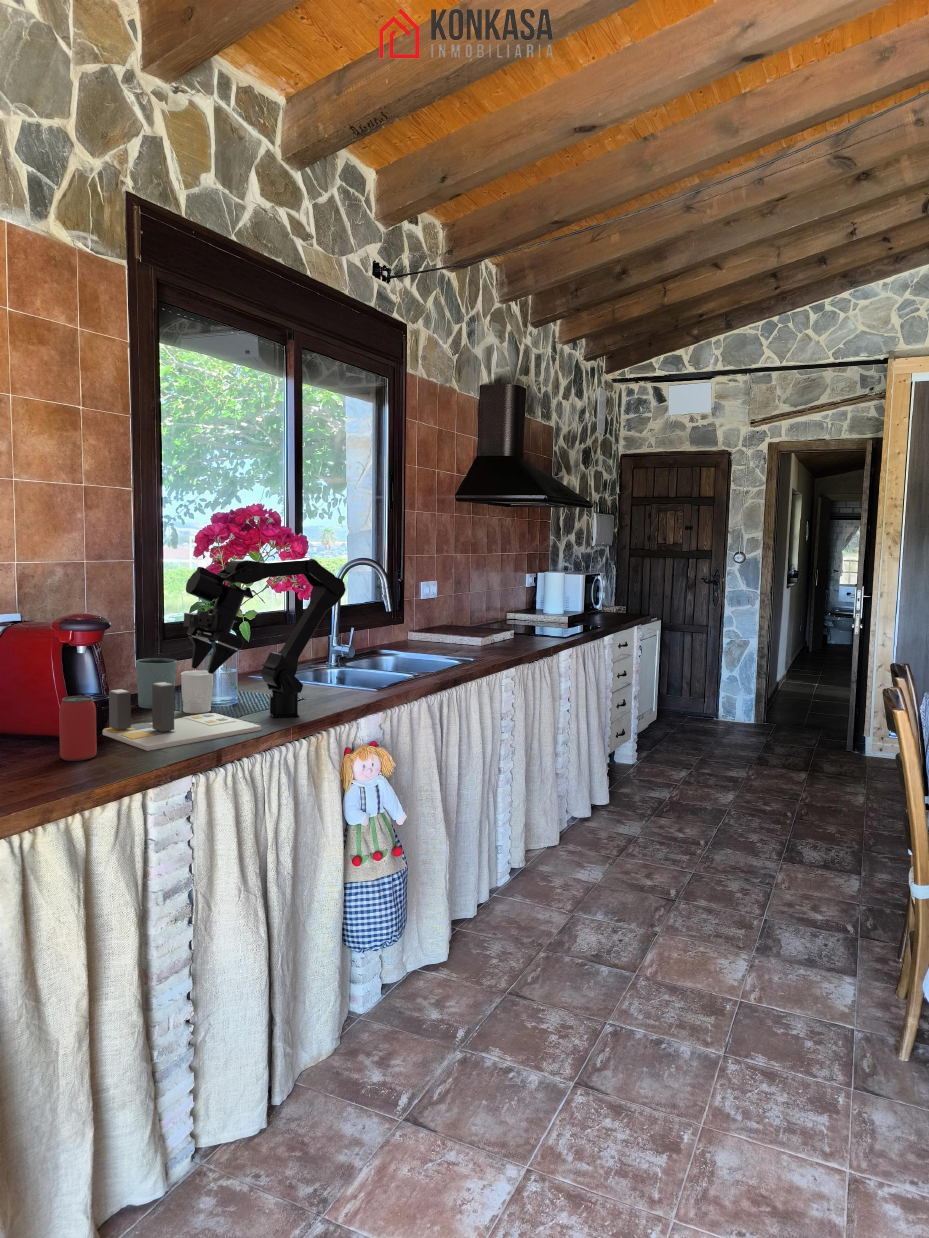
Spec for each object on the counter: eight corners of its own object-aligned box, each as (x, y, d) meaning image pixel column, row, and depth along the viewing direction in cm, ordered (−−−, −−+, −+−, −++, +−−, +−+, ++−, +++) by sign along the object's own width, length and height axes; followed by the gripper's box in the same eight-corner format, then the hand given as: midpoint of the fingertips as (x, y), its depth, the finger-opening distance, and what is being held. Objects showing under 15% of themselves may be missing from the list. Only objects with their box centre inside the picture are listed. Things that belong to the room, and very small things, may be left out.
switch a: (165, 726, 184) (164, 681, 183) (174, 729, 181) (173, 684, 180) (152, 728, 181) (152, 683, 180) (161, 731, 179) (161, 685, 178)
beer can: (82, 762, 158) (81, 702, 157) (52, 760, 159) (51, 700, 158) (103, 754, 164) (102, 696, 163) (74, 752, 165) (73, 694, 164)
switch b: (122, 724, 184) (121, 688, 184) (130, 727, 182) (130, 691, 181) (109, 726, 182) (108, 690, 181) (117, 729, 179) (117, 692, 179)
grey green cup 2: (134, 703, 217) (134, 658, 216) (174, 700, 222) (174, 657, 221) (138, 710, 208) (137, 663, 207) (179, 707, 213) (179, 662, 212)
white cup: (203, 715, 204) (203, 675, 203) (174, 713, 206) (174, 674, 205) (218, 709, 212) (218, 671, 211) (191, 707, 213) (191, 669, 212)
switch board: (212, 716, 202) (212, 711, 202) (261, 730, 189) (261, 724, 189) (101, 734, 181) (101, 728, 181) (147, 750, 168) (147, 744, 168)
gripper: (179, 594, 195) (155, 655, 192) (213, 599, 181) (186, 664, 178) (220, 610, 202) (197, 669, 199) (255, 616, 188) (230, 680, 186)
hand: (201, 670), depth 191 cm, fingers open, 9 cm apart
